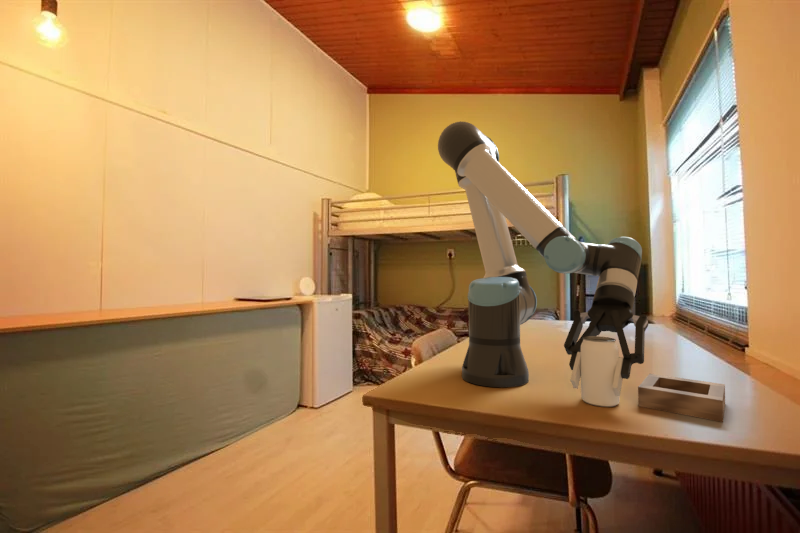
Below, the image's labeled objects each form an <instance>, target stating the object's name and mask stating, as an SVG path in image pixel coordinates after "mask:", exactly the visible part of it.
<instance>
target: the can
mask: <svg viewBox="0 0 800 533" xmlns="http://www.w3.org/2000/svg"><path fill="white" fill-rule="evenodd" d="M616 341H617V339H616V338H613V337H605V336H600V335H597V336H587V337H583V342H582V344H581V377H580V394H581V395H580V396H581V397H580V398H581V399H582V400H583V402H585V404H588V405H591V406H596V407H601V408H613V407H616V406H618V404H620V396H615V394H614V391H613V388H612V386H613V381H614V375H615V370H616V365H617V360H618V357H620V356H619V355H620V354H619V347H618V345H617V343H616Z"/></svg>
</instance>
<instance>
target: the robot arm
mask: <svg viewBox="0 0 800 533" xmlns="http://www.w3.org/2000/svg"><path fill="white" fill-rule="evenodd" d="M437 151H438V155H439V156H440V159H442V161H443V162H444V163H445V164H446V165H448V166H449V167H450V168H452V170H453V171H454V174H455V176H456V177H455V178H456V181H457V184H458V185H457V186H458V187H459V188H461V189H463V190H465V195H466V198H467V202H468V205H469V206H468V207H469V210H470V215H471V220H472V222H473V227H474V231H475V236H476V239H477V243H478V247H479V251H480V254H481V260H482V264H483V267H484V271H485V272H484V273H485V274H484V276H483V278H476V279H474V280H472V281H471V282H470V283H469V285H468V292H467V299H468V300H467V302H468V347H467V350H466V354H465V356H464V359H463V363H462V366H461V378H462V380H464V381H465V382H467V383H470V384H473V385H477V386H482V387H490V388H511V387H512V388H513V387H521V386H523V385H526V384H527V383H529V380H530V374H529V373H530V372H529V368H528V365H527V362H526V358H525V356H524V353H523V351H522V348H521V347H522V346H521V326H522V325H523V324H524V323H525V324H526V323H527V322H528V321H529V320H530V319H531V318H532V316H533V315H534V314H535V312H536V310H537V305H538V299H537V298H538V297H537V295H536V293H535V291H534V289H533V287H532V286H531V285H530V283H529V280H528V275H527V272H526V270H525V269H524V268H523V267H520V265H519V264H518V261H517V257H516V253H515V250H514V249H515V248H514V245H513V241H512V236H511V234H510V230H509V226H508V222H509V223H510V224H511V225H512V226H513V227H514V228H515V229H516V230H517V231H518V232H519V233H520V234H521V235H522V236H523V237H524V239H525V240H527V241H528V242H529V244H530V245H531V246H532V247H533V248H534V249H535V250H536V251H537V252H538V253H539V255H541V257H543V259H544V261H545V263H546V265H547V266H548V268H549V269H551V270H553V271H554V272H556V273H558V274H573V273H574V274H582V275H589V276H590V275H591V276H595V277H598V280H597V283H596V287H595V292H594V295H593V300H592V303H591V307H590V308H589V309H588V311H585V312H580V310H574V312H573V322H572V324H571V327H570V329H569V331H568V334H567V337H566V338H565V342H564V343H563V347H564V350H565V352H566V354H567V355H568V356H570V355H571V357H570V359H569V368H570V371H571V376H570V379H569V380H570V381H569V382H570V383H571V385H572V387H573V389H579V385H580V382H581V344H582V342H583V337H587V336H600V334H601V333H602V332H611V333H616V334H617V338H618V342H619V345H620V349H621V353H622V356H619V357H618V360H617V365H616V370H615V375H614V381H613V386H612V388H613V391H614V394H615V396H619V397H620V396H621V390H622V385H623V379H624V380H629V379H630V376H631V370H632V365H634V364H639V365H642V364H644V362H645V343H646V342H645V341H646V340H645V339H646V338H645V337H646V336H645V335H646V334H645V332H646V330H647V329H648V327H649V321H648V318H647V317H648V316H647V315H646V314H640V315H635V314H634V313H633V309H634V304H635V296H636V291H637V286H638V280H639V275H640V270H641V264H642V260H643V259H642V256H643V248H642V246H641V244H640V243H639V242H638V241H637V240H636V239H634V238H632V237H629V236H618V237H614V238H612V239H610V240H609V241H608V243H607V244H600V243H597V244H596V243H591V242H584V241H583V242H582V241H579V240H578V239H577V238H576V237H575V236H574V235H573V234H572V233H571V232H570V231H569V230H568V229H567V228H566V227H565V226H563V224H562V223H561V222H560V221H558V219H556V217H555V216H554V215H552V213H551V212H550V211H549V210H548V209H546V207H545V206H544V205H542V203H541V202H539V201H538V200H537V199H536V198H535V197H534V195H532V193H530V192H529V191H528V189H526V188H525V186H523V185H522V184H521V182H520V181H518V180H517V179H516V178H515V176H513V175H512V174H511V173H510V172H509V171H508V170H507V169H506V168H505V167H504V166H503V165H502V164H501V162H500V152H499V150H498V147H497V145H496V143H494V141H493V140H492V139H491V138H490V137H489V136H487V135H486V134H485V133H484V132H482V131H481V130H480V129H479V128H478V127H477V126H475V125H474V124H472V123H471V122H467V121H456V122H453V123H451V124H449V125H447V126H446V127H445V128H444V129H443V130H442V131H441V134H440V135H439V137H438V141H437ZM507 220H508V222H507ZM588 319H589V320H590V322H588V323H589V324H588V326H587V328H586V329H585V331H584V332H583V333H582V330H583V327H584V325H585V324H586V322H587V320H588ZM631 323H633V325H634V327H635V328H634V329H635V331H634V332H635V333H634V352H632V353H631V352H630V349H629V344H628V342H627V339H626V335H625V331H624V329H625V328H626V327H627V326H628V325H630V324H631ZM581 333H582V335H581Z"/></svg>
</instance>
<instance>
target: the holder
mask: <svg viewBox="0 0 800 533" xmlns="http://www.w3.org/2000/svg"><path fill="white" fill-rule="evenodd" d="M637 403H638V405H637V407H642V408H647V409H652V410H657V411H664V412H668V413H674V414H679V415H684V416H689V417H694V418H701V419H706V420H711V421H716V422H719V423H721V422H722V423H724V416H725V407H726V384H725V383H717V382H711V381H704V380H697V379H691V378H683V377H676V376H669V375H661V374H654V373H649V374H647V376H646V377H645V378H644V379H643V380H642V381H641V383H640V384H639V385H638V386H637Z"/></svg>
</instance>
